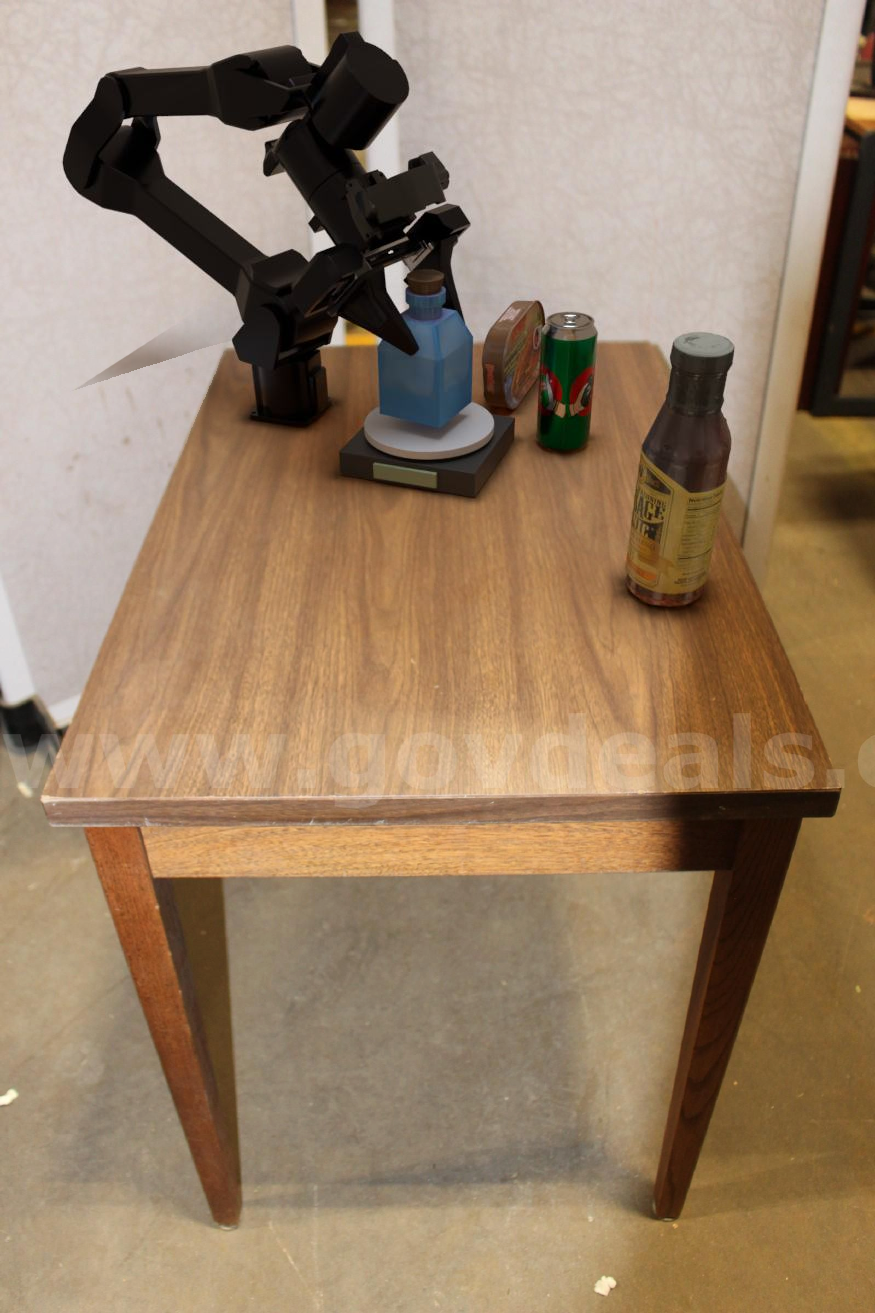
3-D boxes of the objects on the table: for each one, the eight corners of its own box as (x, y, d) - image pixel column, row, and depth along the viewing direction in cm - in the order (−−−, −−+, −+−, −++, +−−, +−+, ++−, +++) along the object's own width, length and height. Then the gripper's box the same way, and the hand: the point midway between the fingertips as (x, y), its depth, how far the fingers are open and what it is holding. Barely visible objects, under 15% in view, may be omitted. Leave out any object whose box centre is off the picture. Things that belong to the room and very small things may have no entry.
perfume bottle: (439, 428, 94) (440, 292, 87) (379, 413, 96) (375, 280, 89) (471, 401, 98) (474, 270, 91) (413, 388, 101) (411, 259, 93)
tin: (506, 422, 106) (508, 340, 101) (476, 418, 107) (476, 336, 102) (547, 366, 117) (551, 289, 112) (519, 363, 118) (522, 286, 113)
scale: (338, 476, 97) (335, 440, 95) (390, 421, 107) (388, 387, 104) (473, 499, 94) (473, 462, 92) (514, 440, 103) (515, 405, 101)
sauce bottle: (615, 569, 85) (642, 323, 72) (692, 565, 85) (732, 319, 73) (634, 617, 79) (666, 360, 67) (716, 612, 80) (763, 356, 68)
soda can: (588, 431, 104) (598, 310, 97) (589, 455, 100) (599, 330, 93) (536, 430, 105) (542, 308, 97) (535, 453, 101) (541, 329, 93)
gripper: (306, 143, 79) (425, 322, 81) (454, 102, 91) (556, 259, 92) (242, 234, 88) (351, 394, 89) (385, 185, 99) (479, 328, 101)
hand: (438, 340), depth 93 cm, fingers closed on perfume bottle, 6 cm apart
